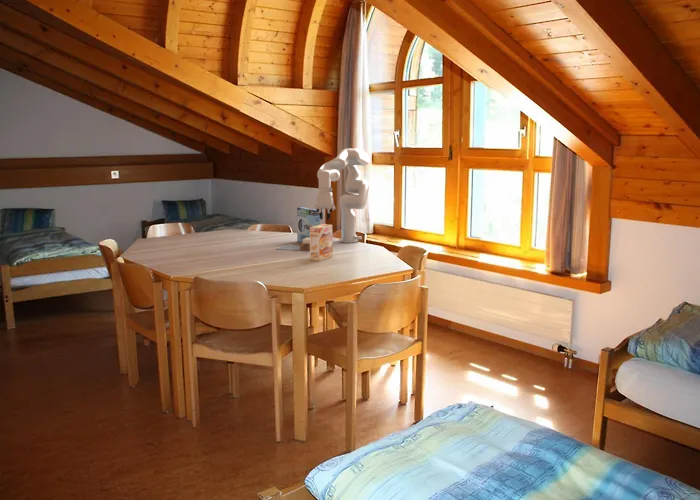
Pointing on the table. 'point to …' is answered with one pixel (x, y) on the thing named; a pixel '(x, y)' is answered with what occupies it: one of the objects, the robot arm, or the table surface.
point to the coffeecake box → (320, 242)
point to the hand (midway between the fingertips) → (324, 219)
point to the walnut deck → (305, 246)
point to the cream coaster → (306, 240)
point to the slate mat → (289, 247)
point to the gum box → (306, 222)
